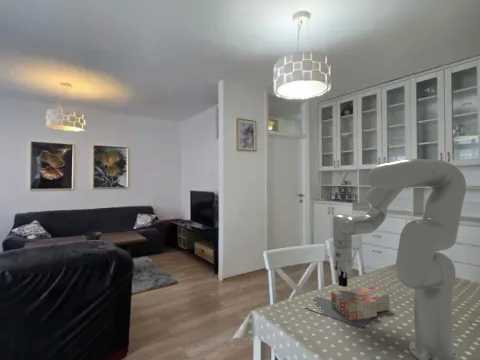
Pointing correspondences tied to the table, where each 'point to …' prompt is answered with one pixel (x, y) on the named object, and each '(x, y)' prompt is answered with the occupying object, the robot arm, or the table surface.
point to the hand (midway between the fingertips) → (343, 285)
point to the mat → (337, 312)
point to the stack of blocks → (360, 302)
